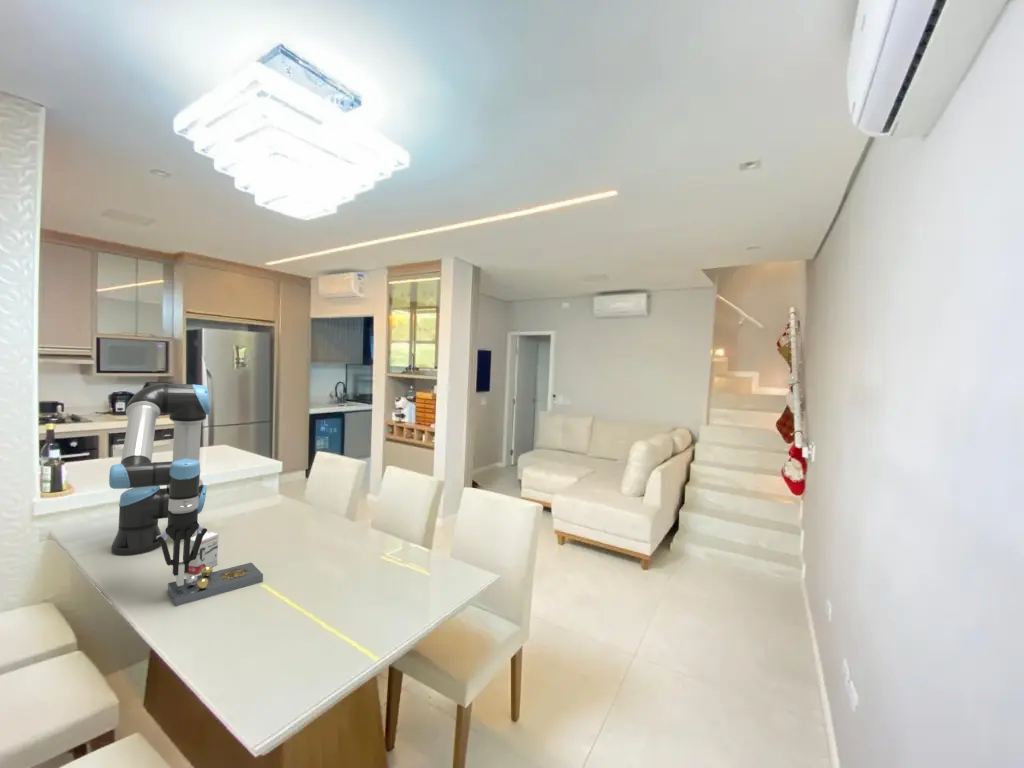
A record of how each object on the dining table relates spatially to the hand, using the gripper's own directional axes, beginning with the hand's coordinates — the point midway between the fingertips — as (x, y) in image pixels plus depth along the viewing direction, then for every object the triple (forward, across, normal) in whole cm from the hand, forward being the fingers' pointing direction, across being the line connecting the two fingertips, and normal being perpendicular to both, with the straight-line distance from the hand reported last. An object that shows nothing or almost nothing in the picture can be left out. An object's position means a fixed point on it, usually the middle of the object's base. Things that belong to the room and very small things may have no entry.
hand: (179, 583), depth 137 cm
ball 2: (0, +5, -4) cm, 7 cm away
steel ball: (0, +3, 0) cm, 3 cm away
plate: (+4, +10, 0) cm, 11 cm away
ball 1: (0, +8, +4) cm, 9 cm away
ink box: (+4, +9, +17) cm, 20 cm away
